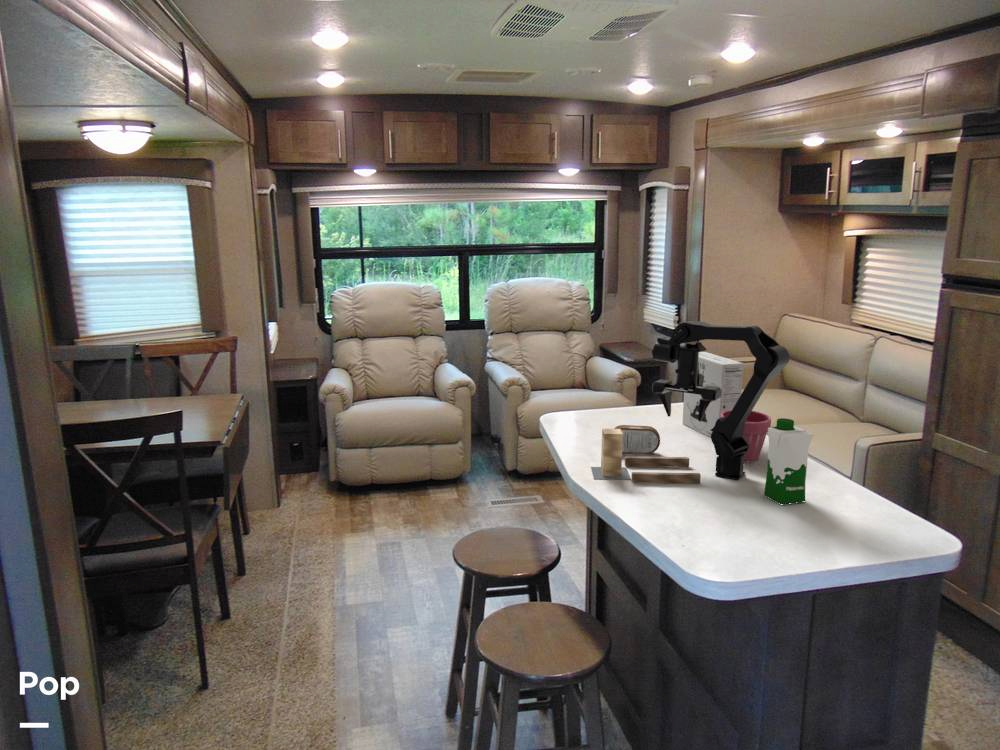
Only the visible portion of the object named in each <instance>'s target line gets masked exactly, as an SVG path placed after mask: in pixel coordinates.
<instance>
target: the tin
mask: <svg viewBox="0 0 1000 750" xmlns="http://www.w3.org/2000/svg"><path fill="white" fill-rule="evenodd" d="M613 429H621V431H622V433H623V444H622V454H633V455H634V454H635V455H636V454H637V455H651V454H653V453H655V452H656V451H657V450H659V449H658V448H659V447H660V445H661V438H660V437H661V436H660V434H659V431H658V430H657V429H656V428H654V427H652V426H650V425H649V426H648V425H634V424H633V425H632V424H631V425H630V424H620V425H617V426H615V427H614V428H613Z"/></svg>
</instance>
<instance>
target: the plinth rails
mask: <svg viewBox="0 0 1000 750" xmlns="http://www.w3.org/2000/svg"><path fill="white" fill-rule="evenodd" d="M624 466H625V467H633V468H634V467H635V468H637V467H641V468H643V467H645V468H646V467H647V468H650V467H651V468H690V457H687V456H636V455H635V456H629V455H628V456H627V455H626V456H624ZM701 476H702V475H701V473H700V472H659V471H658V472H657V471H656V472H650V471H649V472H648V471H644V472H643V471H634V472H633V471H632V472H631V483H632V484H677V485H679V484H681V485H686V484H688V485H690V484H691V485H700V484H701Z"/></svg>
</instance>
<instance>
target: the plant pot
mask: <svg viewBox="0 0 1000 750" xmlns="http://www.w3.org/2000/svg"><path fill="white" fill-rule="evenodd" d="M731 411H732V410H728V411H724V412H723V413H722V414H721V418H722V417H725V416H728V415H729V414H730V413H731ZM771 424H772V418H771V416H769V415H768V414H766V413H763V412H760V411H756V410H752V411H751V413H750V414H749V416H748V418H747V419H746V421H745V427H744V432H743V435H742V436H743V438H744V439H745V440H746V442H747V443H748V445H749V448H748V451H747V452H744V453H742V454H745V456H744V463H745V462H746V463H747V462H748V463H749V462H750V463H751V462H756V461H759V457H760V455H761V453H762V450H763V447H764V446H763V445H764V444H765V440H766V437H767V434H768V428H771V426H772V425H771Z"/></svg>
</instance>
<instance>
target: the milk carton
mask: <svg viewBox="0 0 1000 750" xmlns="http://www.w3.org/2000/svg"><path fill="white" fill-rule="evenodd" d="M767 434H768V435H767V436H768V454H767V455H768V456H767V463H766V464H767V466H766V467H767V468H766V478H765V487H764V492H763V496H764V495H765V496H764V497H766V496H767V497H766V498H768V497H769V498H768V499H770V498H771V499H772V500H771V499H770V500H771V501H773V500H774V501H773V502H775V501H776V502H775V503H777V502H778V503H780V504H789V503H796V502H802V501H805V502H806V480H807V479H806V477H807V468H808V459H809V449H810V446H811V442H812V439H813V437H814V433H812V432H809V431H807V430H806V429H803V428H800V427H797V426H796V425H795V420H793V419H790V418H785V417H783V418H781V417H780V418H777V419H776V426H772V427H771V428H768V432H767ZM778 503H777V504H778ZM780 504H779V505H780ZM789 505H790V504H789Z"/></svg>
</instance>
